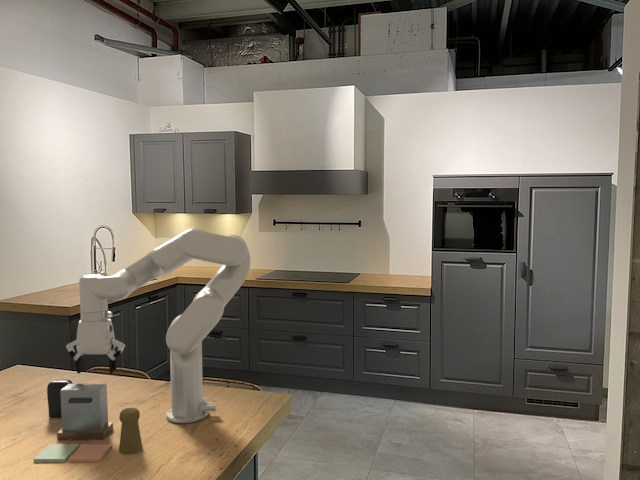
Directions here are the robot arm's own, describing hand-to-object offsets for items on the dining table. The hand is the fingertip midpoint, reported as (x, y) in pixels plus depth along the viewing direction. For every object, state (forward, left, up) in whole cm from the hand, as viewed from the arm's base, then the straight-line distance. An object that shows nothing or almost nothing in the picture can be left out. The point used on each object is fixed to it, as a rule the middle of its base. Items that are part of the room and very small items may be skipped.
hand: (96, 371), depth 163 cm
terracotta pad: (-7, +21, -15) cm, 27 cm away
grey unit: (0, +9, -15) cm, 18 cm away
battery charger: (+13, -4, -16) cm, 21 cm away
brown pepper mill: (-16, +18, -16) cm, 29 cm away
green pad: (+2, +21, -15) cm, 26 cm away
